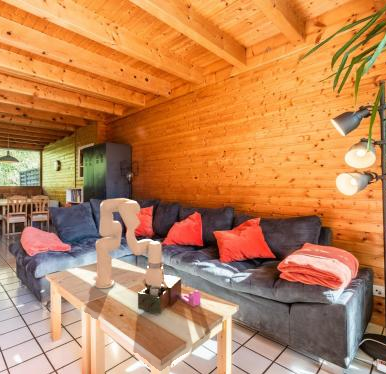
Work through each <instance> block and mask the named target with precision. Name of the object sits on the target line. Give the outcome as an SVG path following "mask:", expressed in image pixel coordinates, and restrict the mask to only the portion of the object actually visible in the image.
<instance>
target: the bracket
mask: <svg viewBox="0 0 386 374" xmlns="http://www.w3.org/2000/svg"><path fill="white" fill-rule="evenodd" d="M179 299H180V300H181V301H182V302H184V303H186V304H187V305H190V306H191V307H197V306H199V305H201V292H200V291H199V290H195V291H194V292H189V293H188V294H187V293H181V295H180V297H179Z"/></svg>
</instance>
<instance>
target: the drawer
mask: <svg viewBox="0 0 386 374" xmlns="http://www.w3.org/2000/svg"><path fill="white" fill-rule="evenodd" d="M169 303H170V289H168V288H165V289H164V290H163V291H162V294H161V295H160V297H158V296H154V295H150V294H148V290H147V287H145V288H144V289H143V290H141V291H138V292H137V309H138V310H141V311H145V312H149V313H152V314H156V315H158V316H161V315H162V311H164V309H165V308H166V307H167V306H168V304H169Z"/></svg>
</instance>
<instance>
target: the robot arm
mask: <svg viewBox="0 0 386 374" xmlns="http://www.w3.org/2000/svg"><path fill="white" fill-rule="evenodd" d="M99 213H100V217H99V229H98V233H99V236H101V238H99V239H97V240H96V242H95V243H94V244H95V245H94V247H95V253H96V270H97V271H96V275H94V277H92V278H93V279H92V280H93V281H95V282H94V286H95V288H98V289H109V288H111V287H113V286H114V285H115V281H114V280H113V279H112V273H113V272H112V271H113V270H112V269H113V268H112V266H113V265H112V263H113V262H112V256H111V253H110V252H111V251H112V252H113V251H115V250H118V249H119V248H120V247H121V242H122V234H123V227H122V223H121V222H120V221H118V220H114V213H119V215H120V217H121V219H122V221H123V223H124V225H125V227H126V235H125V236H126V237H125V238H126V243H127V246H128V247H129V249H130V251H131V253H132V254H133V255H134V256H142V255H146V254H147V266H146V270H145V278H144V279H143V280H142V284H144V287H145V288H147V290H148V294H150V287H151V286H156V287H158V289H159V292H158V297H160V295H161V294H162V291H163V290H164V289H165V288H167V287H168V285H167V284H166V282H165V275H166V274H165V270H164V267H165V264H164V263H163V258H162V256H163V254H162V253H163V247H162V246H163V245H162V243H161V241H154V240H152V239H150V238H146V239H141V240H137V238H136V234H135V230H136V229H138V227H140V225H141V220H140V219H139V217H138V216H137V215H138V214H140V213H141V205H140V204H139V203H138V202H137V201H135V200H133V199H128V198H125V197H120V198H108V199H104V200H102V201H101V203H100V205H99ZM162 285H164V287H162Z"/></svg>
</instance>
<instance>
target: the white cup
mask: <svg viewBox="0 0 386 374" xmlns="http://www.w3.org/2000/svg"><path fill="white" fill-rule="evenodd" d="M158 292H159V289H158V287H156V286H151V287H150V295H154V296H158Z"/></svg>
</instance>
